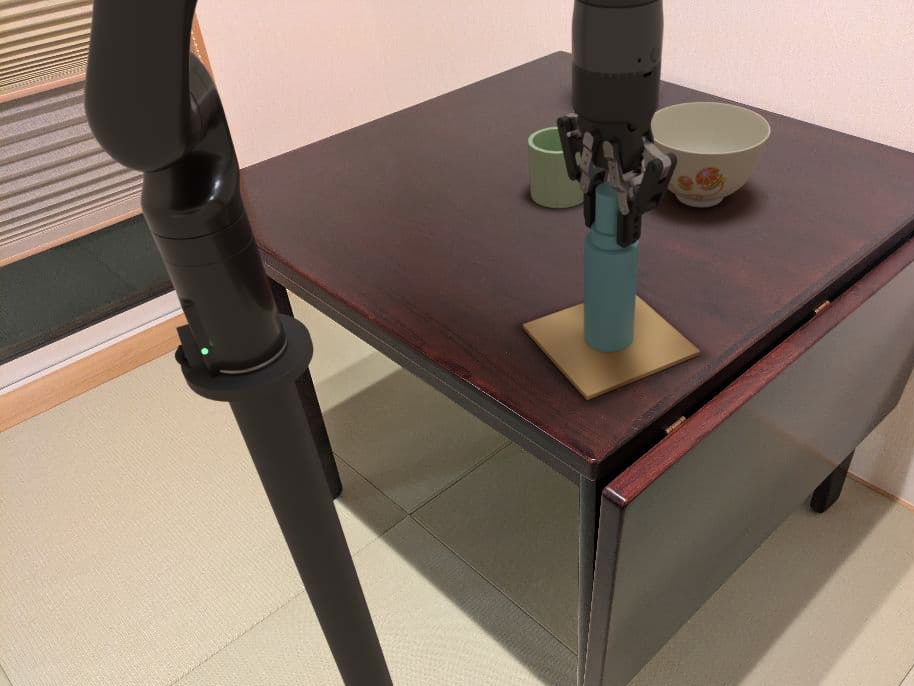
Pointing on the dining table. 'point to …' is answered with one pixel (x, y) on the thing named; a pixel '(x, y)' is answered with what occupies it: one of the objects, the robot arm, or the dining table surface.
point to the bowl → (709, 148)
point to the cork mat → (609, 370)
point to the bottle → (608, 279)
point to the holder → (551, 171)
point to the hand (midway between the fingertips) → (611, 233)
